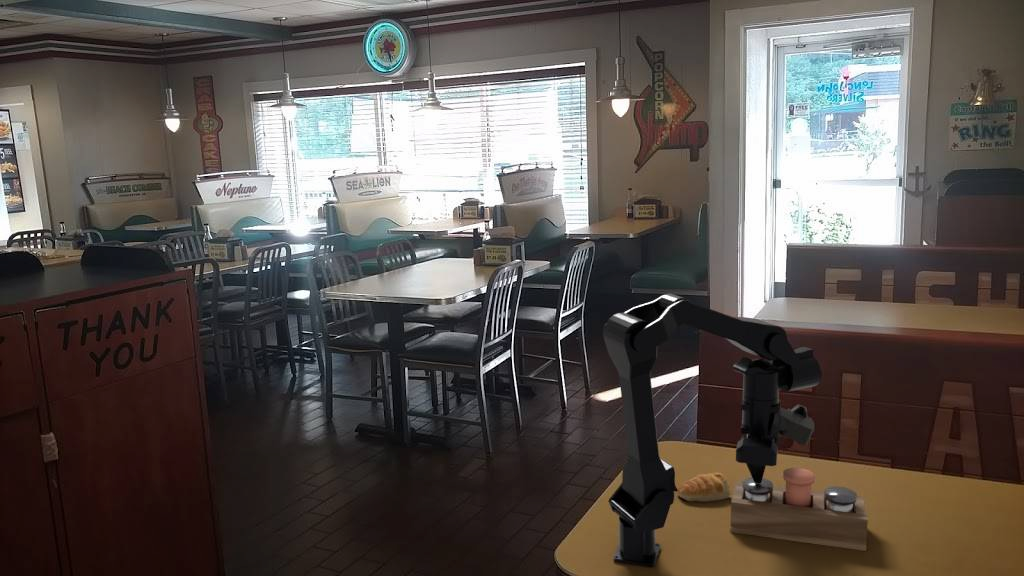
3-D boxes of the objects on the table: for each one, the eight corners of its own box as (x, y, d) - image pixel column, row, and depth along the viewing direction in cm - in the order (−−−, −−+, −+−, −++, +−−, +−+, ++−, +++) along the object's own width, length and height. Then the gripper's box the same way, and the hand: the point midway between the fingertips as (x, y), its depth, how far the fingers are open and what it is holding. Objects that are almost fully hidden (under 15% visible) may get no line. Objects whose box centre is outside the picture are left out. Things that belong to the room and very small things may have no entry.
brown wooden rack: (866, 550, 127) (867, 521, 126) (730, 531, 134) (730, 503, 133) (862, 524, 135) (864, 495, 134) (734, 507, 142) (735, 480, 141)
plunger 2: (855, 535, 129) (857, 502, 128) (822, 530, 130) (824, 497, 129) (854, 520, 133) (856, 488, 132) (822, 516, 135) (823, 484, 134)
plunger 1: (771, 523, 133) (772, 491, 132) (740, 519, 135) (741, 488, 134) (772, 510, 138) (773, 479, 137) (742, 506, 140) (743, 475, 138)
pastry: (687, 507, 143) (688, 488, 142) (670, 492, 150) (670, 473, 149) (733, 499, 146) (734, 479, 145) (714, 484, 152) (714, 465, 151)
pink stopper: (813, 515, 130) (815, 482, 129) (781, 511, 132) (782, 478, 131) (813, 501, 135) (814, 469, 134) (782, 497, 137) (783, 466, 136)
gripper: (812, 419, 121) (808, 514, 124) (812, 381, 138) (808, 465, 141) (736, 413, 124) (734, 504, 128) (745, 376, 142) (743, 458, 145)
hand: (757, 482), depth 135 cm, fingers closed
